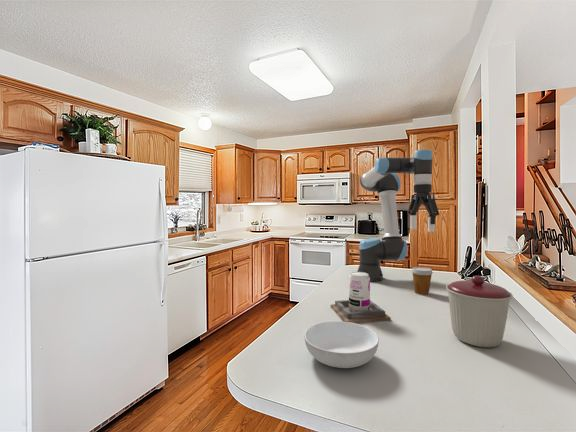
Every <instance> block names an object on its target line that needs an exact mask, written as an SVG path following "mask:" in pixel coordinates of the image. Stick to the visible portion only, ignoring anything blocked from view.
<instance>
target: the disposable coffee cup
mask: <svg viewBox="0 0 576 432" xmlns="http://www.w3.org/2000/svg"><path fill="white" fill-rule="evenodd" d="M411 273H412V280H413V281H412V282H413V288H414V293H415V294H416V295H422V296H427V295H429V294H430V287H431V281H432V275H433V271H432V268H430V267H424V266H423V267H422V266H415V267H412V269H411Z"/></svg>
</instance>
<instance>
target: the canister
mask: <svg viewBox="0 0 576 432" xmlns="http://www.w3.org/2000/svg"><path fill="white" fill-rule="evenodd" d="M445 289H446V290H447V294H448V301H449V302H448V303H449V313H450V314H449V315H450V321H451V322H450V323H451V329H452V332H453V335H454V336H455V337H456V338H457V339H458V340H460V341H461V342H463V343H466V344H467V345H470V346H474V347H479V348H495V347H497V346H499V345H500V344H501V343H502V341H503V339H504V334H505V330H506V324H507V319H508V313H509V308H510V307H509V305H510V300H511V299H512V298H513V296H514V295H513V293H512V292H510V291H508V290H507V289H506V288H504V287H502V286H499V285H497V284H493V283H490V282H489V283H488V282H485V278H484V277H482V276H481V275H473V276H472V277H471V280H458V281H457V280H455V281H452V282H451V283H449V284H446V285H445Z"/></svg>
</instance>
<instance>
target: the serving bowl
mask: <svg viewBox="0 0 576 432" xmlns="http://www.w3.org/2000/svg"><path fill="white" fill-rule="evenodd" d="M303 336H304V342H305V346H306V349H307V350H308V352H309V353H310V355H311V356H312V357H313V358H314V359H315V360H317V361H318V362H320V363H322V364H323V365H327V366H328V367H332V368H339V369H352V368H357V367H360V366H363V365H366V364H367V363H369V361H371V360H372V359H373V358H374V356H375V355H376V353H377V351H378V347H379V342H380V341H379V340H380V339H379V338H380V337H378V335H377V333H376V332H375V331H374V330H373V329H371V328H369V327H367V326H365V325H362V324H360V323H351V322H344V321H343V320H341V321H340V320H336V321H335V320H330V321H324V322H319V323H316V324H314V325H311V326H310V327H308V328H306V330H305V331H304V335H303Z"/></svg>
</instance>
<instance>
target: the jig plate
mask: <svg viewBox="0 0 576 432" xmlns="http://www.w3.org/2000/svg"><path fill="white" fill-rule="evenodd" d="M330 308H331V309H332V310H333V311H334V313H335V314H336V315H337V316H338V317H339V318H340V319H341V321H343V322H351V323H356V324H360V323H372V322H373V323H374V322H384V321H385V322H386V321H387V322H388V321H391V320H392V318H391V317H390V316H389V315H388V314H387V313H386V311H385V310H384V309H383V308H382V307H380V306H379V305H377V304H376V303H375V302H373V301H372V300H371V299H370V310H369V311H360V312H351V311H350V309H349V299H345V300H344V299H343V300H334V303H333V304H330Z"/></svg>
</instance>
